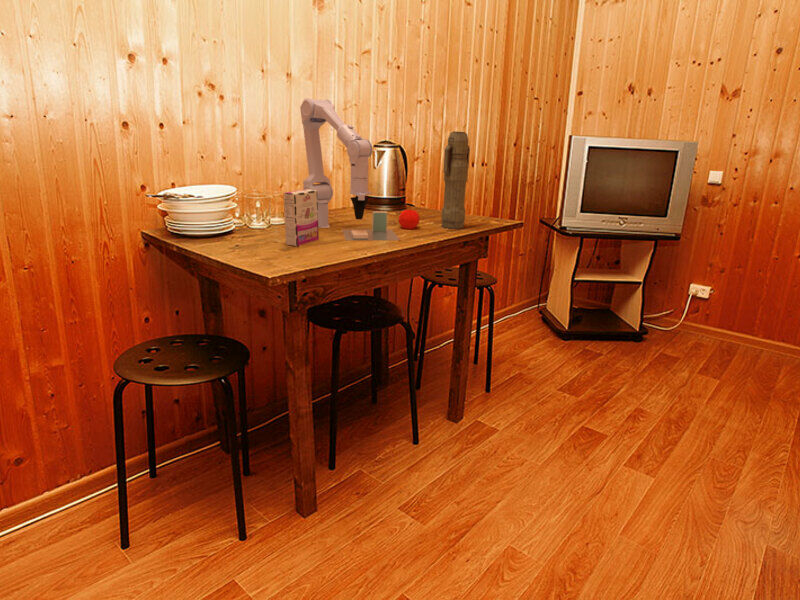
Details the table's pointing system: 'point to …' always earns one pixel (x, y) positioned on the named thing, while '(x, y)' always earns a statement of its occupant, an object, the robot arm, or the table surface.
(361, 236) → the tile
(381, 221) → the tile
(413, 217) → the apple
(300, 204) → the candy bar box
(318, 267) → the table surface
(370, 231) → the slate board
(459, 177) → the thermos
